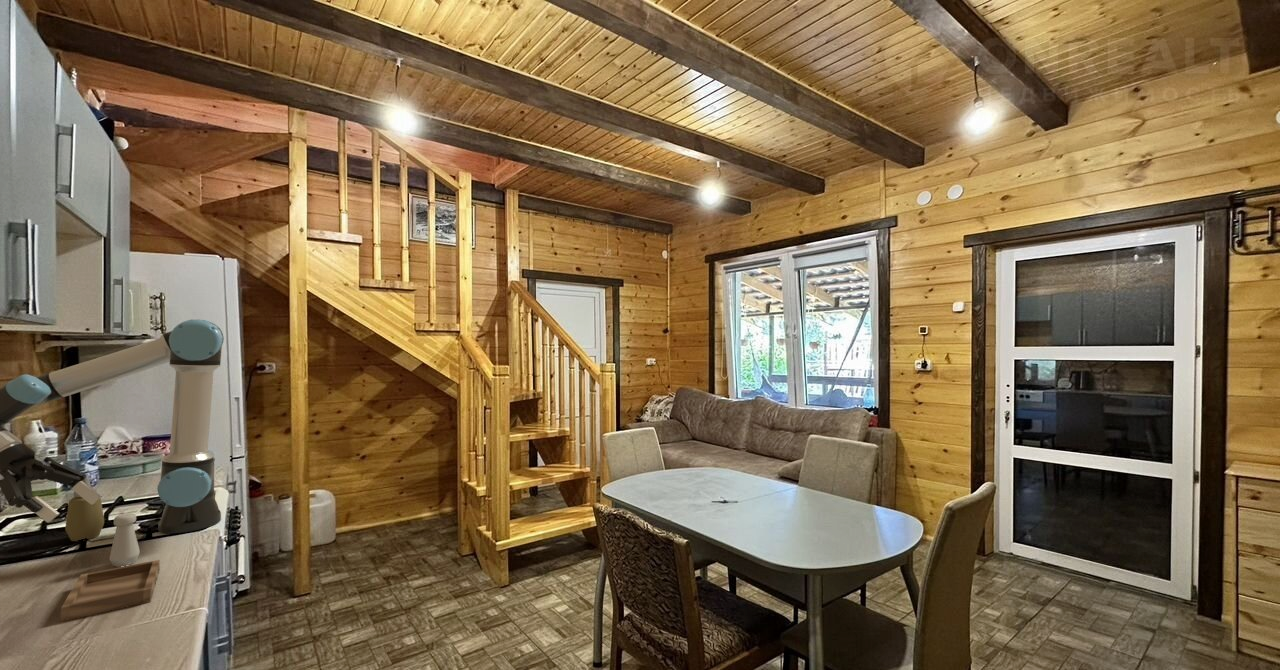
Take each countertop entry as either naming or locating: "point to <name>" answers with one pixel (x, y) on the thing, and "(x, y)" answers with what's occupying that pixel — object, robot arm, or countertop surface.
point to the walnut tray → (111, 590)
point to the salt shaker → (124, 541)
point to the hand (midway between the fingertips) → (76, 509)
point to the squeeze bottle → (84, 517)
